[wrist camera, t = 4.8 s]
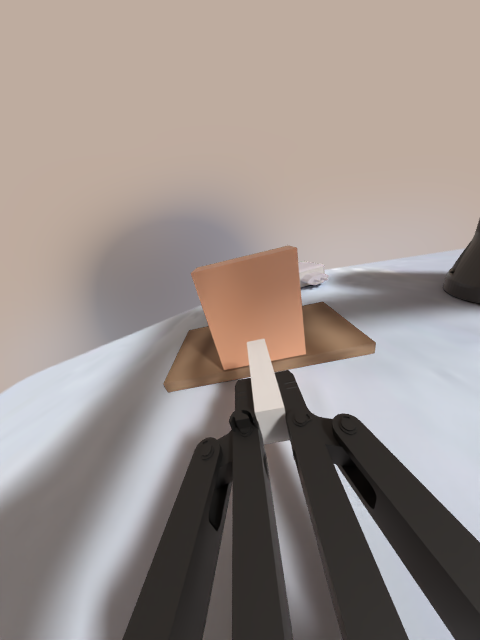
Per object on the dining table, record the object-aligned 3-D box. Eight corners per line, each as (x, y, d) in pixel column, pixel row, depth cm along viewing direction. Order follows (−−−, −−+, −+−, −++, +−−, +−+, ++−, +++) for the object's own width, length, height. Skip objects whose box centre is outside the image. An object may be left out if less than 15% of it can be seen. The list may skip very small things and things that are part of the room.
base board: (323, 308, 34) (322, 301, 33) (374, 353, 22) (375, 342, 21) (191, 336, 36) (188, 330, 35) (167, 392, 23) (163, 384, 23)
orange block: (286, 320, 29) (276, 242, 24) (306, 354, 21) (296, 247, 16) (227, 333, 30) (205, 260, 25) (223, 370, 22) (190, 273, 17)
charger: (306, 296, 42) (279, 283, 55) (341, 285, 43) (306, 275, 56) (304, 276, 40) (277, 267, 53) (342, 265, 41) (305, 259, 54)
